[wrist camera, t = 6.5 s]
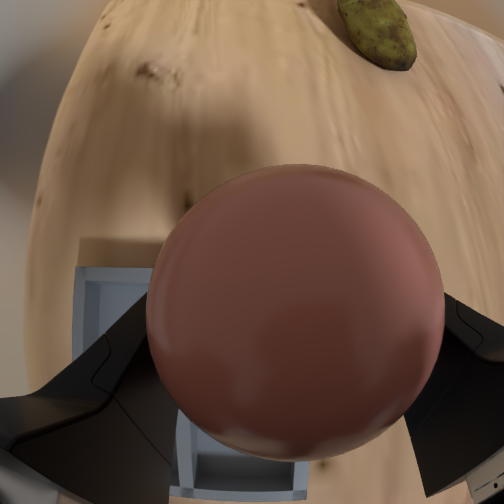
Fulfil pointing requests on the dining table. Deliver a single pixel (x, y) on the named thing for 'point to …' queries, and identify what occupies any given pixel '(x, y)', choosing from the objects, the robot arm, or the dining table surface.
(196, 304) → the pink dome-topped cylinder
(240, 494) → the gray compartment tray
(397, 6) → the potato
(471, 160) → the dining table surface
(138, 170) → the dining table surface
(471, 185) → the dining table surface
